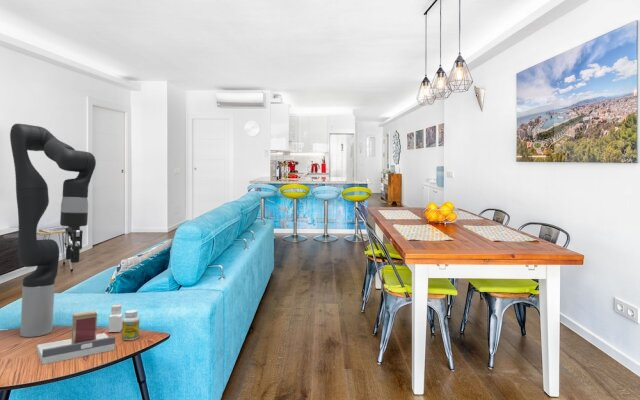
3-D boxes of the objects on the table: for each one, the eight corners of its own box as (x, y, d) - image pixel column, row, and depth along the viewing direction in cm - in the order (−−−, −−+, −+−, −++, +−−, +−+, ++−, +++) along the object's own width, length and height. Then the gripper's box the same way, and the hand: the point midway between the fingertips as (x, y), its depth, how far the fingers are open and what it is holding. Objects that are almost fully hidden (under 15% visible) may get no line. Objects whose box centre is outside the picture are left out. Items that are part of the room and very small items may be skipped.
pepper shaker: (120, 332, 139) (121, 306, 139) (107, 333, 138) (109, 307, 138) (122, 329, 143) (123, 304, 143) (110, 330, 142) (111, 304, 142)
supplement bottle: (137, 335, 137) (138, 308, 137) (139, 339, 133) (141, 312, 133) (120, 337, 134) (122, 310, 135) (122, 342, 130) (123, 314, 130)
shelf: (36, 351, 120) (37, 338, 120) (104, 338, 133) (104, 327, 133) (42, 364, 110) (43, 350, 110) (114, 350, 123) (115, 337, 123)
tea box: (71, 345, 120) (72, 313, 120) (92, 341, 124) (94, 310, 124) (73, 349, 117) (75, 316, 117) (95, 345, 121) (97, 313, 121)
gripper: (92, 212, 122) (90, 263, 122) (83, 210, 132) (80, 257, 132) (64, 211, 117) (62, 264, 116) (57, 210, 127) (54, 259, 127)
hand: (72, 260), depth 124 cm, fingers open, 8 cm apart
